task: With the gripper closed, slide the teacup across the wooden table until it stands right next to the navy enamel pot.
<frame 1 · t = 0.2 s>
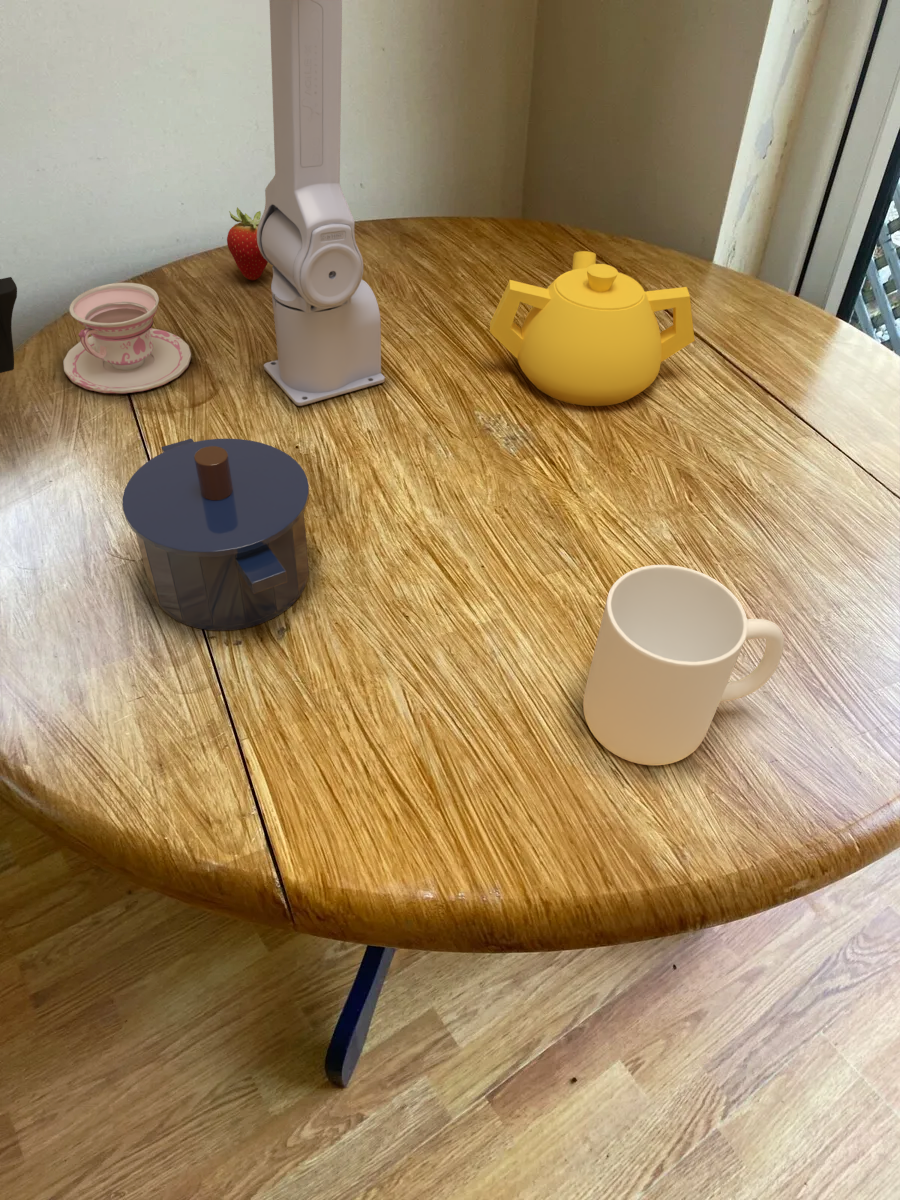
teacup: (129, 364, 89), on the table
fruit: (255, 281, 103), on the table
pot: (231, 574, 68), on the table
cup: (669, 718, 61), on the table
pot lid: (217, 496, 63), point 7 cm above the table, touching pot
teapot: (581, 365, 93), on the table
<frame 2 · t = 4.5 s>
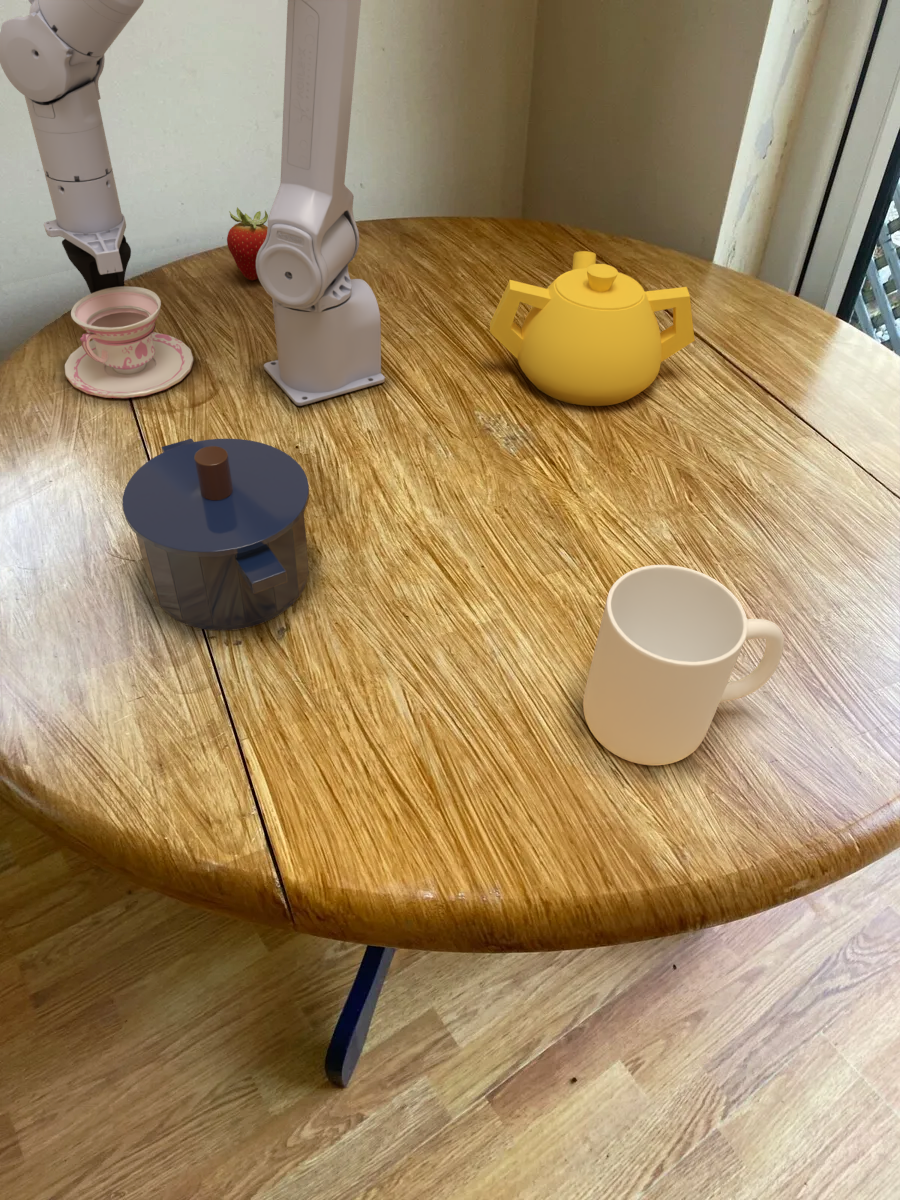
hand: (111, 313, 90), 3 cm above the table, tool pointing down, fingers closed
teacup: (131, 368, 88), on the table, touching gripper
everything else where it was.
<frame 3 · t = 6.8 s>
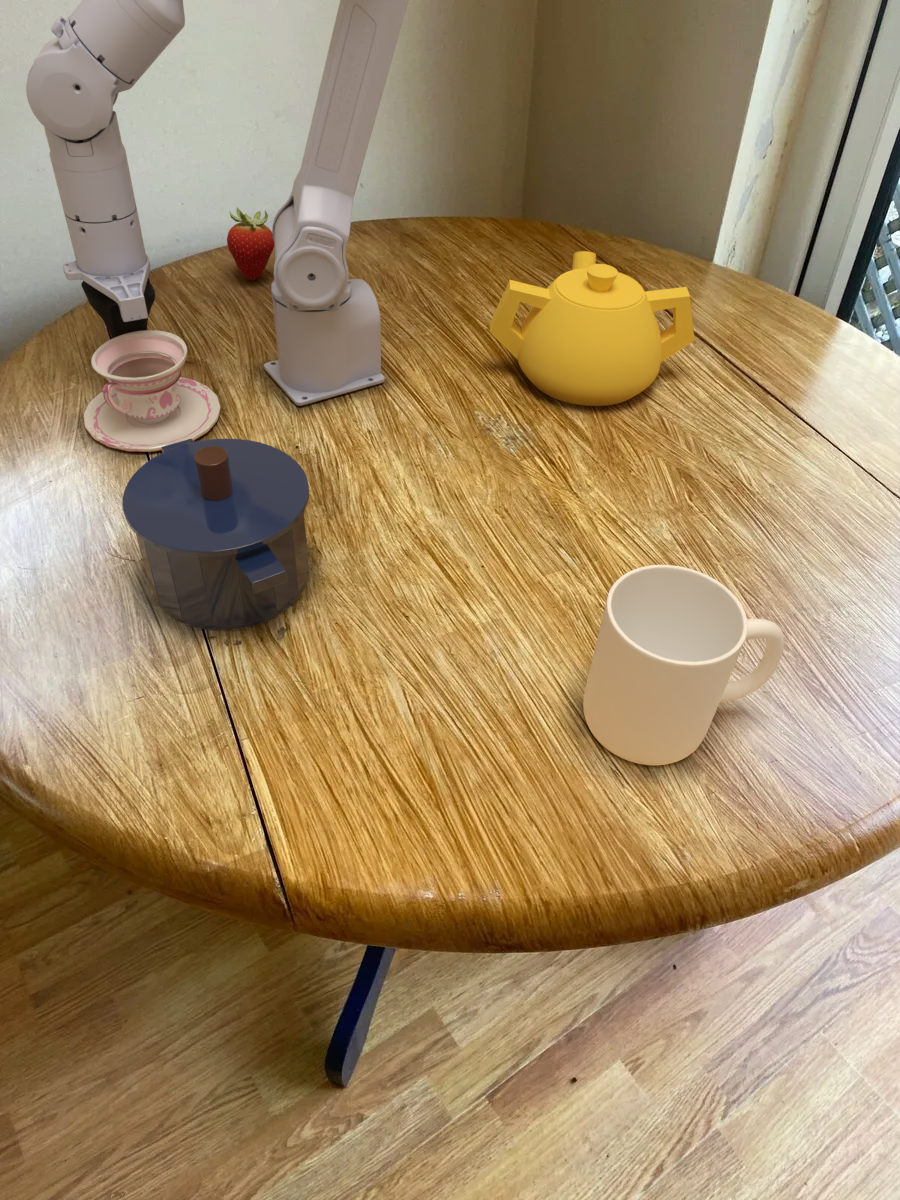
hand: (133, 357, 84), 3 cm above the table, tool pointing down, fingers closed
teacup: (154, 417, 83), on the table, touching gripper
everything else where it was.
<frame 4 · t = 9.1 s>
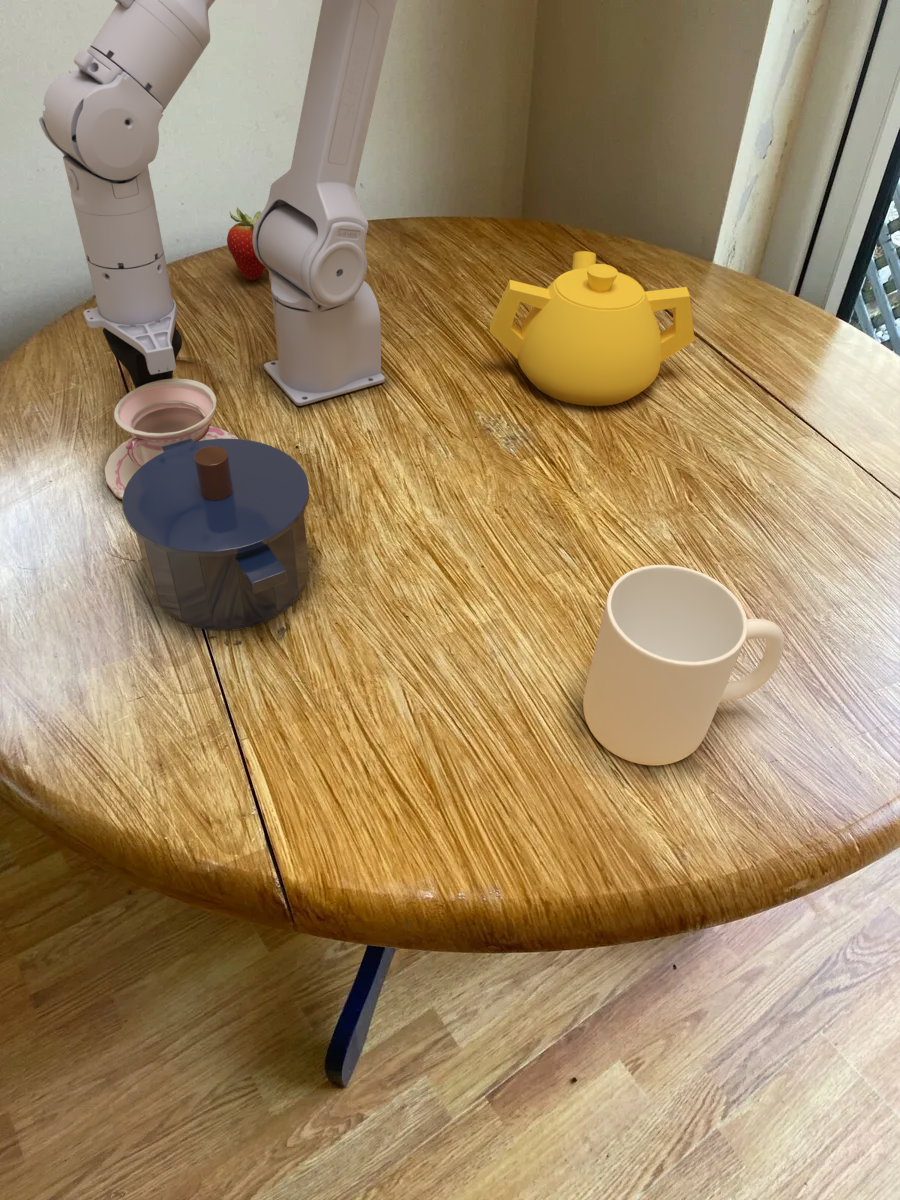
hand: (157, 405, 79), 3 cm above the table, tool pointing down, fingers closed
teacup: (179, 471, 77), on the table, touching gripper
everything else where it was.
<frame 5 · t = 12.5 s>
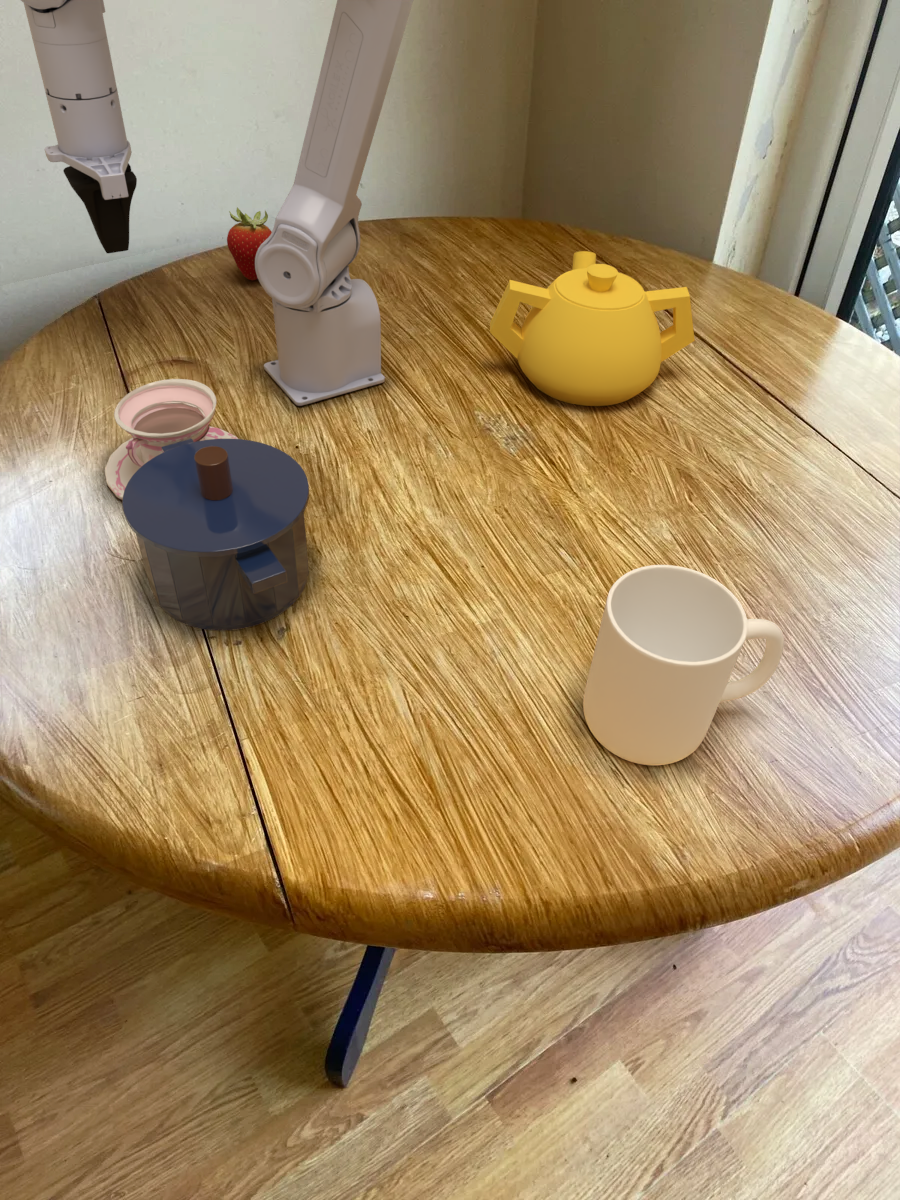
hand: (116, 249, 85), 9 cm above the table, tool pointing down, fingers closed
teacup: (180, 471, 77), on the table
everything else where it was.
at the end: teacup 14.3 cm from the pot (horizontally); teacup moved 18.8 cm from its start; teacup tilted 0° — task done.
